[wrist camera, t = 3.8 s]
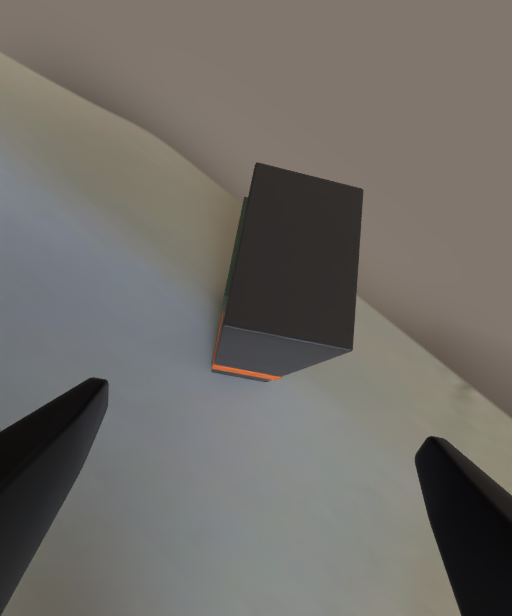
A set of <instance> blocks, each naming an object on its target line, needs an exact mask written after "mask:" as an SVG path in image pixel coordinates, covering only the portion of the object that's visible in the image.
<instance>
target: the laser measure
mask: <svg viewBox="0 0 512 616" xmlns="http://www.w3.org/2000/svg"><path fill="white" fill-rule="evenodd" d="M362 201H363V189H361V188H357V187H353V186H349V185H345V184H341V183H337V182H333V181H329V180H325V179H321V178H317V177H313V176H309V175H305V174H301V173H297V172H294V171H290V170H286V169H282V168H278V167H274V166H269V165H265V164H261V163H256V165H255V168H254V173H253V177H252V182H251V186H250V191H249V196H248V198H247V197H244V201H243V206H242V211H241V216H240V220H239V225H238V230H237V235H236V240H235V245H234V250H233V254H232V259H231V264H230V269H229V274H228V279H227V284H226V288H225V293H224V298H223V304H222V309H221V311H223V314H222V319H221V324H220V329H219V334H218V339H217V344H216V349H215V354H214V359H213V363H212V372H214V373H219V374H225V375H230V376H236V377H241V378H247V379H252V380H258V381H263V382H268V381H271V380H277V379H279V378H282V376H284V375H287V374H290V373H293V372H296V371H298V370H301V369H304V368H307V367H309V366H312V365H315V364H318V363H320V362H323V361H326V360H329V359H332V358H334V357H337V356H340V355H343V354H345V353H348V352H351V351H352V350H353V337H354V322H355V307H356V292H357V277H358V262H359V247H360V232H361V217H362Z"/></svg>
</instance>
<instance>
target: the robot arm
mask: <svg viewBox="0 0 512 616" xmlns="http://www.w3.org/2000/svg"><path fill="white" fill-rule="evenodd" d="M108 386H109V385H108V381H107V380H105V379H100V378H94V377H92V378H89V379H87V380H86V381H84V382H82V383H81V384H79V385H77V386H76V387H74V388H72V389H71V390H69V391H67V392H66V393H64V394H62V395H61V396H59V397H57V398H56V399H54V400H52V401H51V402H49V403H47V404H46V405H44V406H42V407H41V408H39V409H37V410H36V411H34V412H32V413H31V414H29V415H27V416H26V417H24V418H22V419H21V420H19V421H17V422H16V423H14V424H12V425H11V426H9V427H7V428H6V429H4V430H2V431H1V432H0V616H1V614H2V612H3V611H4V609H5V607H6V605H7V603H8V602H9V600H10V598H11V596H12V594H13V593H14V591H15V589H16V587H17V585H18V584H19V582H20V580H21V578H22V576H23V575H24V573H25V571H26V569H27V567H28V565H29V564H30V562H31V560H32V558H33V556H34V555H35V553H36V551H37V549H38V547H39V546H40V544H41V542H42V540H43V538H44V537H45V535H46V533H47V531H48V529H49V528H50V526H51V524H52V522H53V520H54V519H55V517H56V515H57V513H58V511H59V509H60V508H61V506H62V504H63V502H64V500H65V499H66V497H67V495H68V493H69V491H70V490H71V488H72V486H73V484H74V482H75V481H76V479H77V477H78V475H79V473H80V471H81V469H82V467H83V465H84V463H85V460H86V458H87V456H88V453H89V451H90V449H91V446H92V444H93V441H94V439H95V437H96V434H97V432H98V430H99V427H100V425H101V422H102V420H103V418H104V415H105V413H106V410H107V407H108ZM415 465H416V469H417V473H418V477H419V481H420V485H421V490H422V494H423V498H424V502H425V506H426V510H427V514H428V518H429V521H430V524H431V527H432V530H433V533H434V536H435V539H436V542H437V545H438V548H439V551H440V554H441V557H442V560H443V563H444V566H445V569H446V572H447V575H448V578H449V581H450V584H451V587H452V589H453V592H454V595H455V598H456V601H457V604H458V607H459V610H460V613H461V616H512V495H510V494H509V493H508V492H507V491H506V490H505V489H503V488H502V487H501V486H500V485H499V484H497V483H496V482H495V481H494V480H493V479H492V478H490V477H489V476H488V475H487V474H486V473H485V472H483V471H482V470H481V469H480V468H479V467H477V466H476V465H475V464H474V463H473V462H472V461H470V460H469V459H468V458H467V457H466V456H464V455H463V454H462V453H461V452H460V451H459V450H457V449H456V448H455V447H454V446H453V445H452V444H450V443H449V442H448V441H447V440H445V439H443V438H439V437H433V436H430V437H428V438H427V439H426V440H425V441H424V443H423V444H422V446H421V447H420V449H419V450H418V452H417V453H416V455H415Z"/></svg>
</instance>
